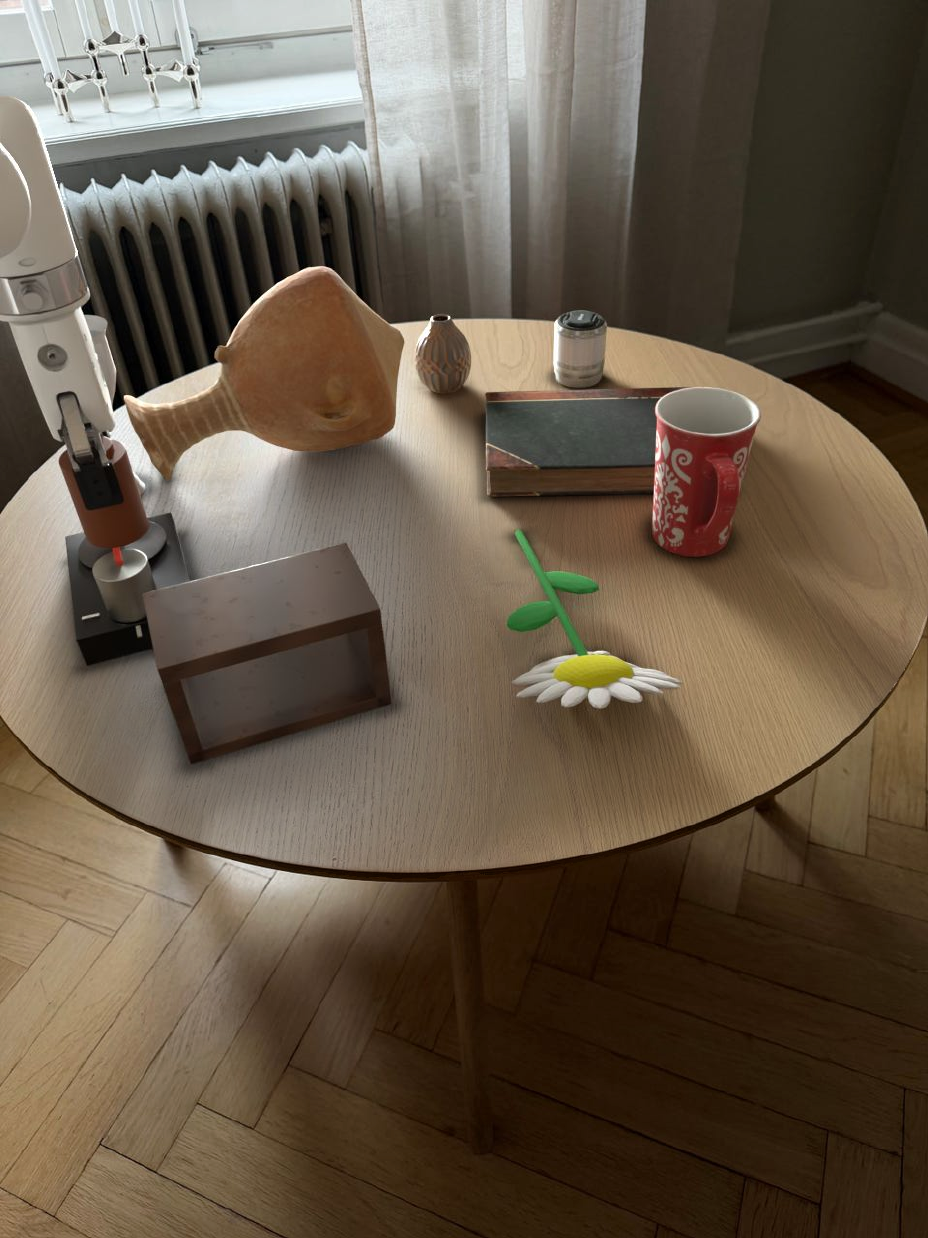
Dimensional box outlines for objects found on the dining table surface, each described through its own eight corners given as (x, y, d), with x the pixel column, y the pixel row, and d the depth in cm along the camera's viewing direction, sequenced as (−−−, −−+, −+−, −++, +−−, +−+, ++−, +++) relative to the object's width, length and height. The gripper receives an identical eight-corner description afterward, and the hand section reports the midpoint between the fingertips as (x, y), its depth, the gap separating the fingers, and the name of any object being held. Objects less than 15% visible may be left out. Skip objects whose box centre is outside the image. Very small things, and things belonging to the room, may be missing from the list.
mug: (633, 510, 93) (646, 387, 84) (723, 506, 93) (745, 383, 84) (658, 590, 83) (676, 460, 74) (758, 585, 83) (787, 455, 74)
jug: (445, 376, 90) (145, 477, 85) (430, 452, 109) (183, 539, 103) (369, 206, 93) (76, 292, 88) (367, 308, 112) (124, 384, 106)
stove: (88, 680, 77) (76, 652, 75) (74, 561, 89) (64, 534, 87) (208, 647, 79) (200, 619, 77) (178, 536, 92) (171, 510, 90)
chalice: (137, 466, 102) (88, 308, 90) (167, 490, 98) (120, 328, 87) (75, 492, 99) (16, 331, 87) (103, 518, 95) (45, 353, 83)
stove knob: (164, 614, 78) (149, 569, 75) (110, 628, 77) (93, 583, 74) (156, 584, 81) (142, 540, 78) (105, 598, 80) (88, 553, 77)
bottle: (88, 554, 82) (52, 456, 75) (84, 521, 86) (49, 425, 79) (152, 539, 83) (122, 442, 77) (145, 507, 87) (115, 412, 81)
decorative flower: (455, 565, 90) (531, 768, 66) (454, 521, 88) (534, 715, 63) (579, 553, 92) (699, 746, 68) (583, 509, 90) (709, 693, 65)
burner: (81, 581, 82) (80, 579, 82) (75, 533, 88) (74, 531, 87) (172, 559, 84) (171, 556, 84) (161, 514, 90) (160, 511, 89)
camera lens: (606, 368, 117) (610, 307, 112) (599, 391, 112) (604, 329, 107) (557, 364, 118) (559, 304, 113) (548, 387, 113) (550, 325, 108)
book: (486, 498, 95) (729, 493, 94) (485, 468, 93) (735, 462, 92) (485, 416, 108) (699, 411, 108) (485, 388, 106) (703, 382, 105)
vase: (483, 384, 114) (482, 315, 109) (445, 404, 111) (441, 335, 105) (443, 368, 118) (440, 301, 112) (405, 387, 114) (399, 319, 109)
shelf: (190, 765, 69) (157, 669, 63) (173, 687, 76) (141, 593, 69) (392, 704, 73) (380, 608, 67) (360, 635, 80) (346, 541, 73)
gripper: (93, 316, 64) (158, 528, 76) (77, 241, 77) (135, 433, 89) (-21, 336, 63) (63, 550, 74) (-19, 255, 75) (53, 450, 87)
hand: (101, 485), depth 81 cm, fingers closed on bottle, 5 cm apart
